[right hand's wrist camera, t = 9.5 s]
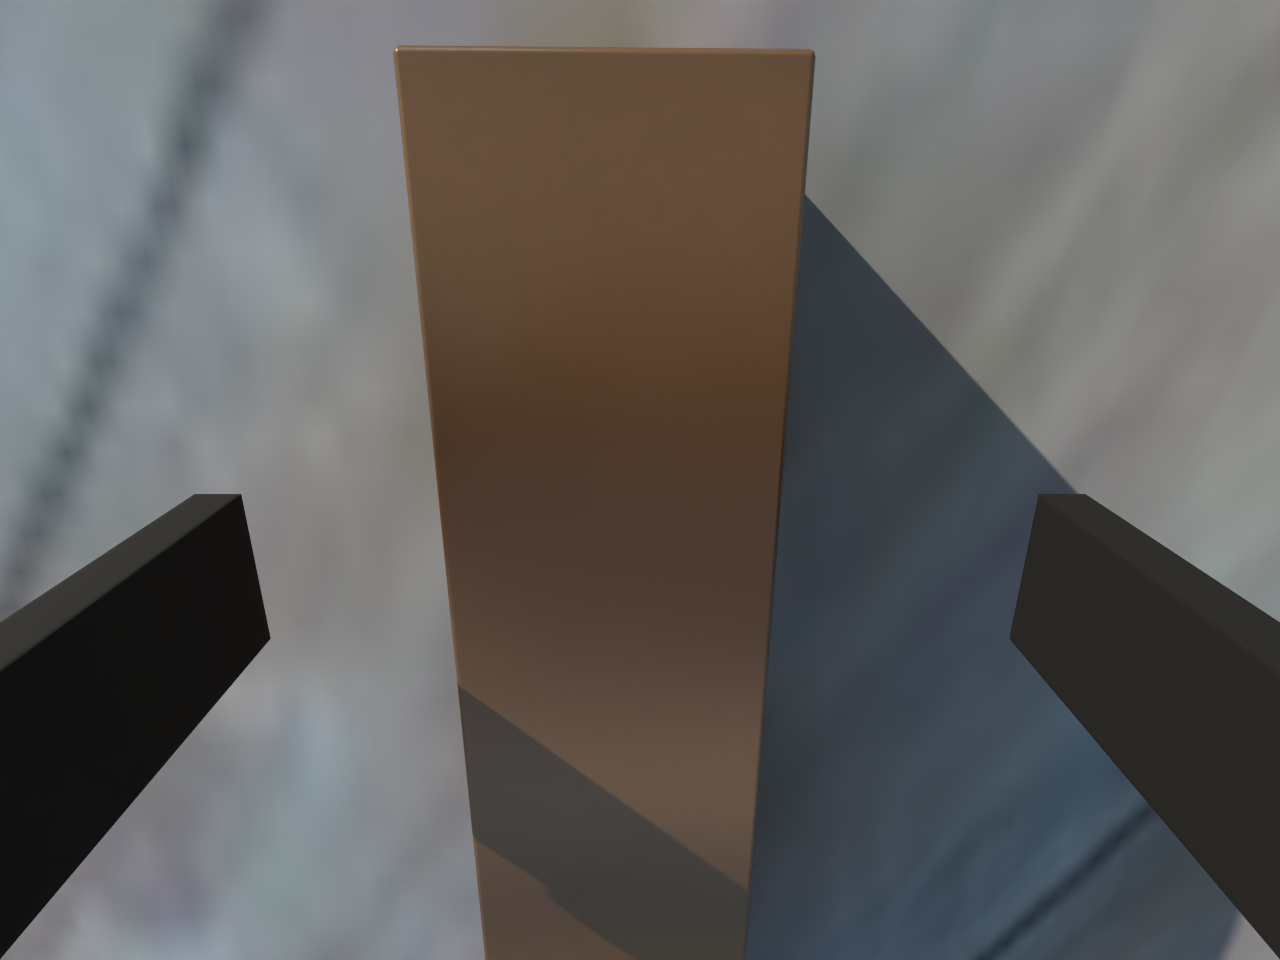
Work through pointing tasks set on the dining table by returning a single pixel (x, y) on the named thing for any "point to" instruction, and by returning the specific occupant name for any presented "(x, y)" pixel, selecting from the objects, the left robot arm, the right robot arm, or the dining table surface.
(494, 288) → the bar
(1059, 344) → the dining table surface
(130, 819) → the dining table surface
